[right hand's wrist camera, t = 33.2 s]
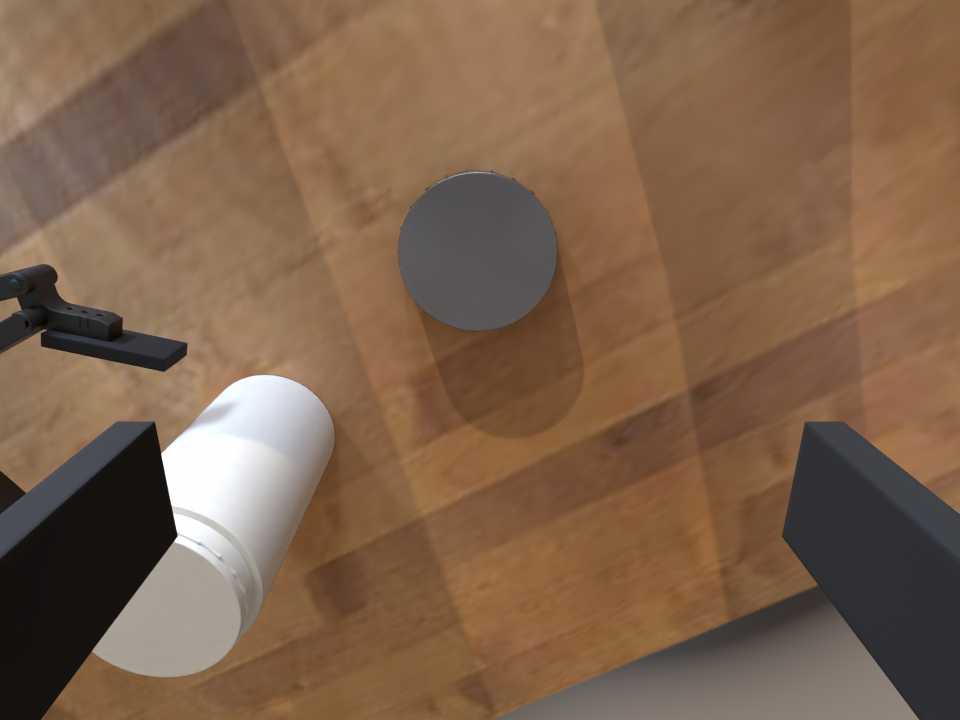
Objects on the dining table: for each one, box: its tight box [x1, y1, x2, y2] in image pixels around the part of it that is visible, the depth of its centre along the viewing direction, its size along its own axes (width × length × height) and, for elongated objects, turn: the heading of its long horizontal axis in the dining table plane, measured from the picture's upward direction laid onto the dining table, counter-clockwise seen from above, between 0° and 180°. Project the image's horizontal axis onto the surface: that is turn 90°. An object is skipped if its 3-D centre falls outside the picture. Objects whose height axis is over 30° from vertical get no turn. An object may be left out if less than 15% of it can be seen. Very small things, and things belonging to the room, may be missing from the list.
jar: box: [92, 375, 335, 678], centre depth 35 cm, size 9×9×17 cm
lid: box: [398, 170, 558, 331], centre depth 38 cm, size 10×10×2 cm
